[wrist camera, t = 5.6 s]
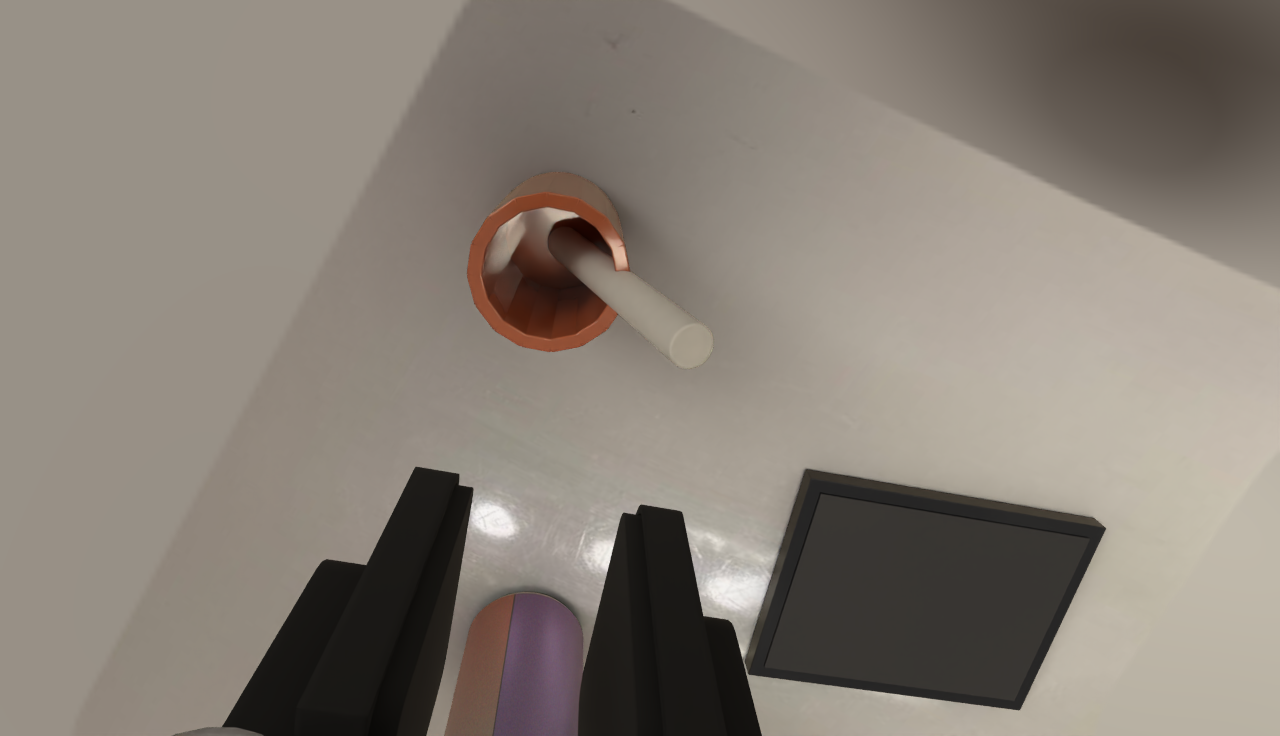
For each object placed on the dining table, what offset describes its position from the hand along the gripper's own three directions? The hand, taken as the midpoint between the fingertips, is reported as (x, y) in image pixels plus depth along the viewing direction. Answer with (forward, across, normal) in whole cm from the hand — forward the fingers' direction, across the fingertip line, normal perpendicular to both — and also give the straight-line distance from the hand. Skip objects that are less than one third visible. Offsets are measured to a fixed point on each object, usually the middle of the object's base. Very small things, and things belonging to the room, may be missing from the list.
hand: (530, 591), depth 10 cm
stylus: (+24, +1, 0) cm, 24 cm away
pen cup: (+25, +1, 0) cm, 25 cm away
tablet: (+25, -21, +15) cm, 36 cm away
